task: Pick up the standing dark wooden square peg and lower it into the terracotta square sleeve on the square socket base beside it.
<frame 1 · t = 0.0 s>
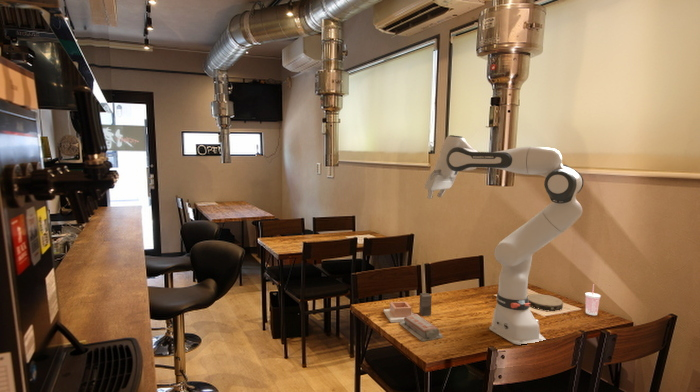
hand: (434, 197, 189), 52 cm above the table, tool tilted 20°, fingers open, 8 cm apart
packaged product: (420, 332, 168), on the table
peg: (425, 314, 185), on the table
grey round disc: (544, 305, 199), on the table
square socket base: (400, 316, 182), on the table
beverage cup: (591, 313, 189), on the table
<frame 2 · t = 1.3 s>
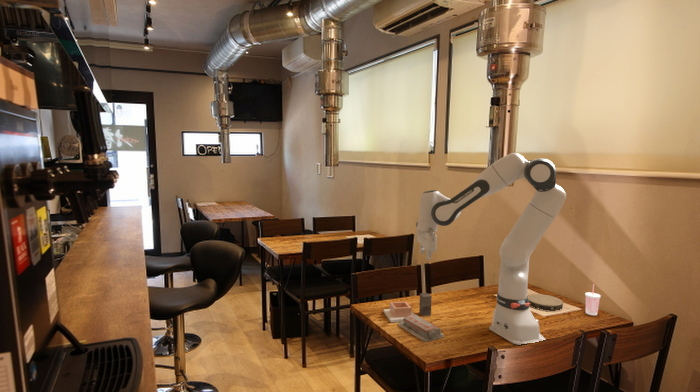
hand: (425, 256, 184), 26 cm above the table, tool pointing down, fingers open, 8 cm apart
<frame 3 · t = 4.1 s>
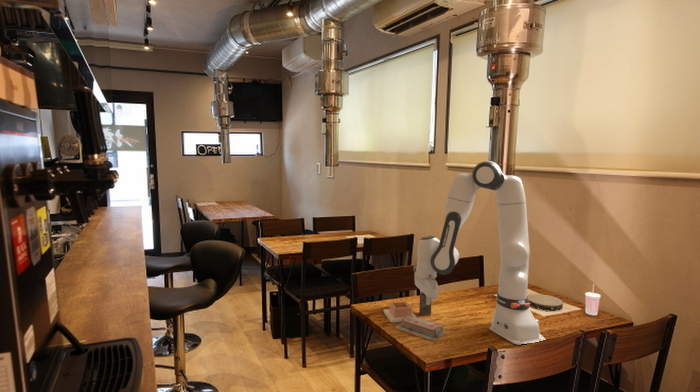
hand: (425, 301, 185), 6 cm above the table, tool pointing down, fingers closed on peg, 4 cm apart
peg: (425, 314, 185), on the table, touching gripper
when the fingers open (8 cm above the table, at t = 9.0 s): peg drops 1 cm, resting on square socket base.
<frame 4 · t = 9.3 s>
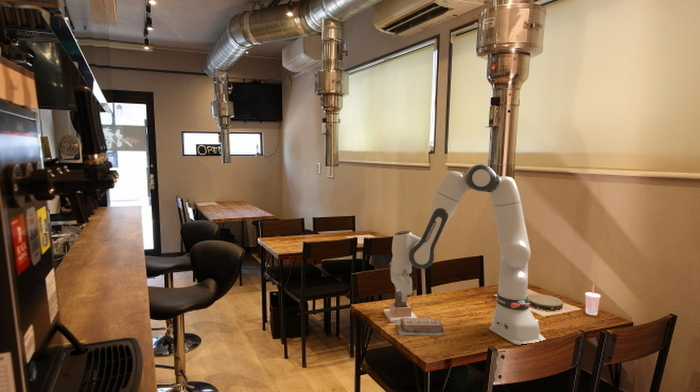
hand: (400, 298, 181), 8 cm above the table, tool pointing down, fingers open, 7 cm apart
peg: (400, 313, 182), point 1 cm above the table, touching square socket base
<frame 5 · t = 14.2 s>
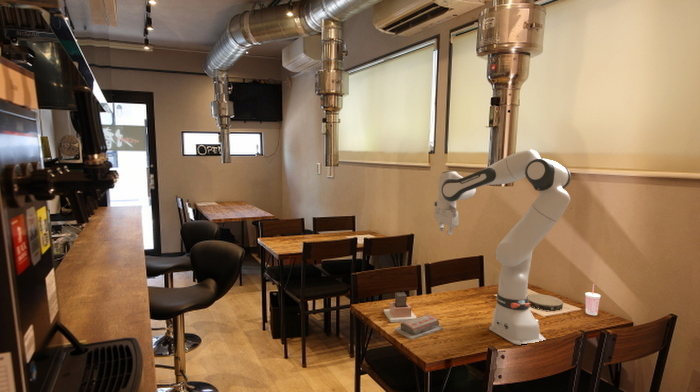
hand: (445, 232, 199), 34 cm above the table, tool pointing down, fingers open, 8 cm apart
at the end: peg 0.1 cm off-centre on the square socket base, point 1.2 cm above the square socket base's base; peg tilted 0°; the gripper is holding nothing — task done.
